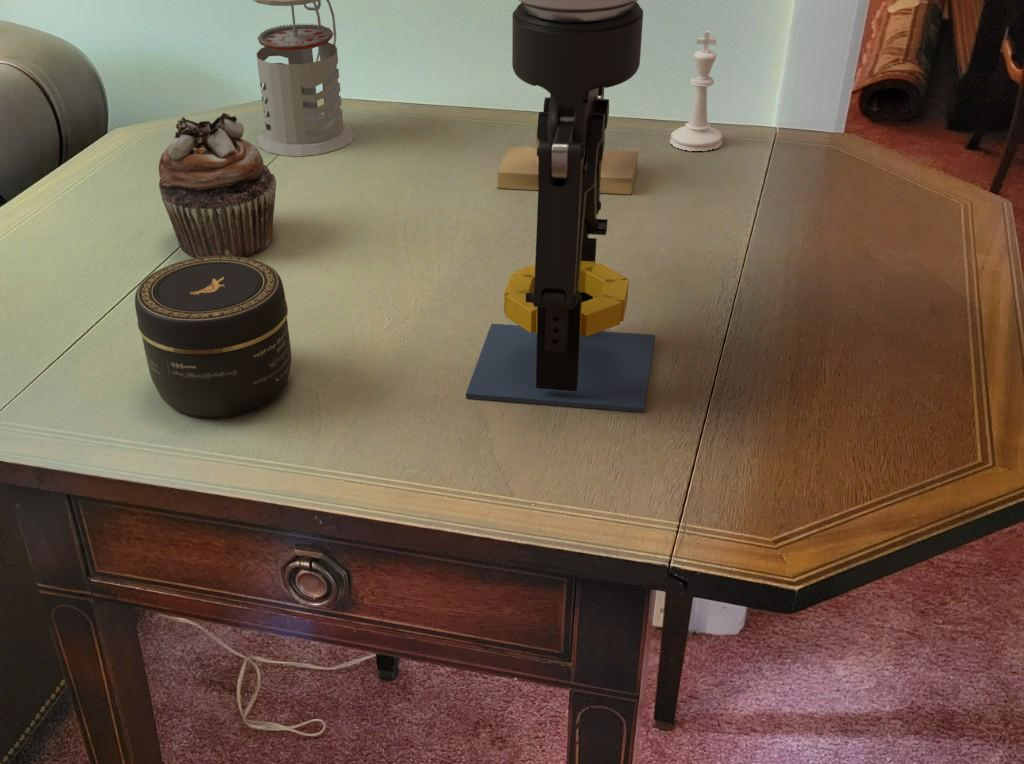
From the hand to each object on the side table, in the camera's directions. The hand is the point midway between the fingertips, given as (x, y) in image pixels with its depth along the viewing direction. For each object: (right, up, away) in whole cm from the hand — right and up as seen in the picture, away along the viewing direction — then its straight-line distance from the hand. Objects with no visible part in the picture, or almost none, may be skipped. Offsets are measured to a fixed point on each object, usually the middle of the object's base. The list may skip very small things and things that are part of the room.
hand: (565, 354), depth 85 cm
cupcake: (-27, +13, +19) cm, 35 cm away
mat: (0, -1, +1) cm, 1 cm away
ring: (0, +3, -3) cm, 4 cm away
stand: (+3, +22, +26) cm, 34 cm away
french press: (-21, +30, +37) cm, 52 cm away
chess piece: (+16, +27, +32) cm, 45 cm away
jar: (-24, -2, +1) cm, 24 cm away
